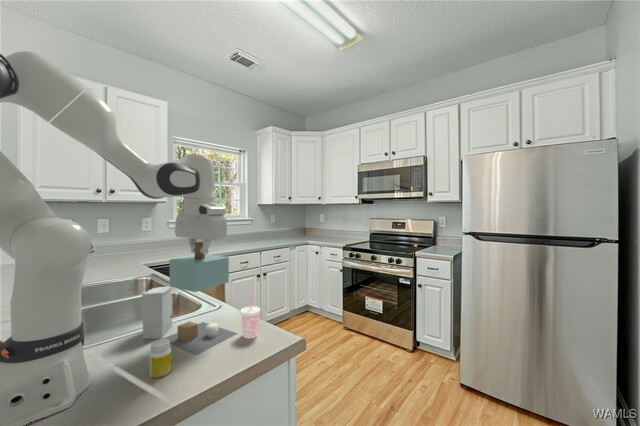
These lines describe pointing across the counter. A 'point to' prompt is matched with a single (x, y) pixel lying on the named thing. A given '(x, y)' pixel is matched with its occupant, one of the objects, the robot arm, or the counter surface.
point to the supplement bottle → (160, 359)
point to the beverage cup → (250, 321)
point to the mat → (199, 336)
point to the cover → (199, 271)
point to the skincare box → (157, 312)
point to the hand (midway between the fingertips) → (199, 253)
